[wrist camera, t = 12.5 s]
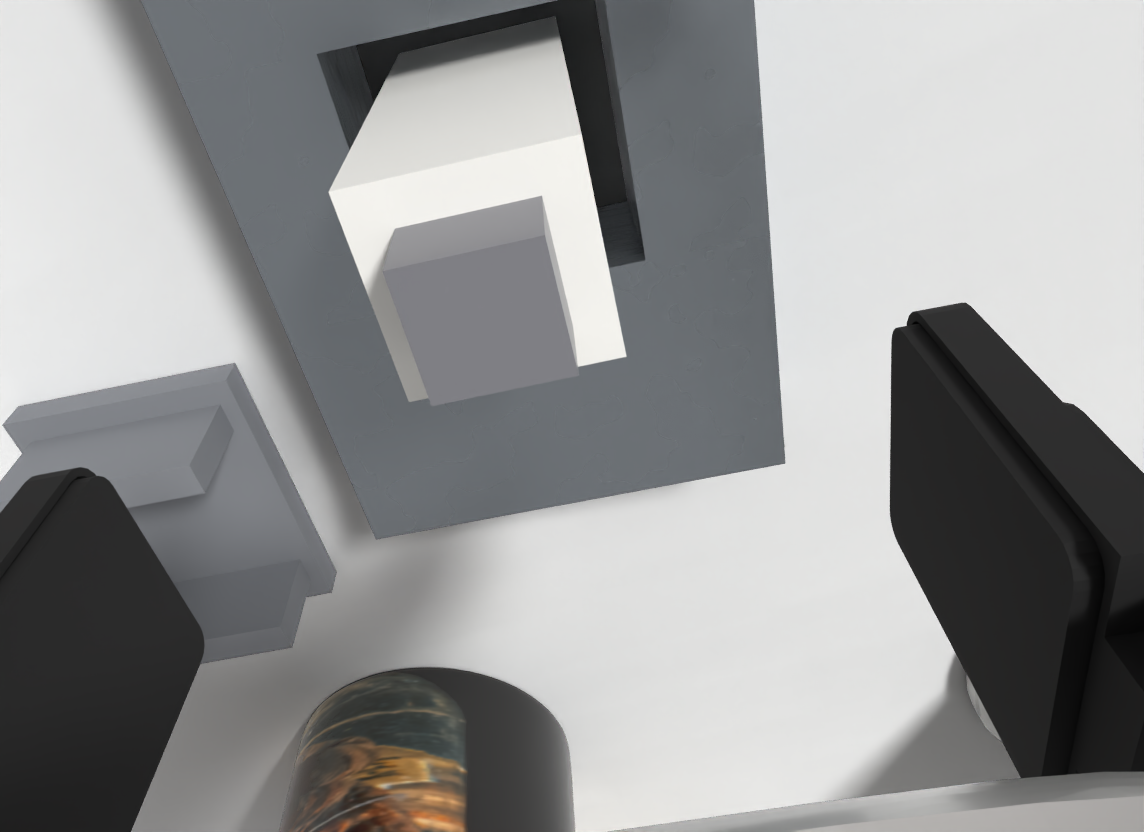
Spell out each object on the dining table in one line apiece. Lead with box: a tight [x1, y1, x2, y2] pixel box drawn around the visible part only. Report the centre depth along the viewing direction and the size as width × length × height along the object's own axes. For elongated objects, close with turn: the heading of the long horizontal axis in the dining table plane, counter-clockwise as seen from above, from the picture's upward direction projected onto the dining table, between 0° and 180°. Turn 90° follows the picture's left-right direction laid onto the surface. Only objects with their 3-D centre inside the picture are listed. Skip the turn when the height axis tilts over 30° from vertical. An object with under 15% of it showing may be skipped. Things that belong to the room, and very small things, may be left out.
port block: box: [141, 0, 785, 539], centre depth 21 cm, size 20×12×4 cm, turn 11°
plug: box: [329, 16, 627, 406], centre depth 18 cm, size 4×4×12 cm
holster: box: [0, 363, 337, 664], centre depth 27 cm, size 9×7×4 cm
